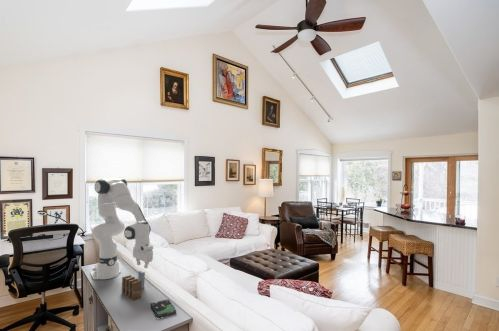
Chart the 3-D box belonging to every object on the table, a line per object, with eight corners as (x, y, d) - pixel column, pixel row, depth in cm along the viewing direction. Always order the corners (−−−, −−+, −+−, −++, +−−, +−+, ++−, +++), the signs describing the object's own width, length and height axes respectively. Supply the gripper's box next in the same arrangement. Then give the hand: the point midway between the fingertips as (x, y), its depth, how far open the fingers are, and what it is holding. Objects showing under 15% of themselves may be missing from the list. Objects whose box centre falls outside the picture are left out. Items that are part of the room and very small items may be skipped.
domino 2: (124, 295, 165) (125, 278, 165) (132, 292, 169) (133, 276, 169) (126, 295, 164) (126, 279, 164) (134, 293, 167) (134, 277, 168)
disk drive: (149, 308, 150) (157, 320, 138) (150, 303, 150) (157, 314, 138) (168, 303, 156) (176, 314, 144) (168, 298, 156) (176, 309, 144)
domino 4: (131, 299, 159) (132, 282, 159) (139, 296, 163) (140, 280, 163) (133, 300, 158) (133, 283, 158) (141, 297, 162) (141, 280, 162)
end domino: (141, 288, 175) (142, 273, 175) (137, 286, 178) (138, 271, 178) (144, 287, 176) (144, 272, 176) (140, 285, 179) (140, 270, 180)
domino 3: (128, 297, 162) (128, 280, 162) (136, 294, 166) (136, 278, 166) (129, 298, 161) (130, 281, 161) (137, 295, 165) (138, 279, 165)
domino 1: (121, 292, 168) (122, 276, 168) (129, 290, 171) (130, 274, 172) (123, 293, 167) (123, 277, 167) (130, 291, 170) (131, 275, 171)
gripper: (130, 243, 182) (130, 264, 182) (145, 248, 169) (145, 271, 168) (139, 242, 187) (139, 262, 186) (154, 246, 174) (154, 268, 173)
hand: (142, 266), depth 177 cm, fingers open, 8 cm apart
